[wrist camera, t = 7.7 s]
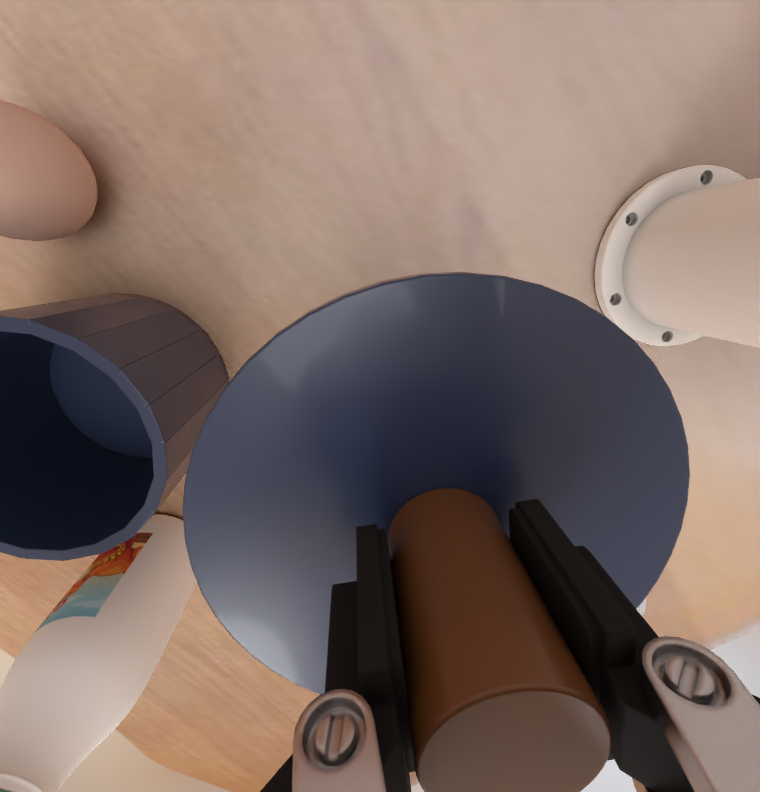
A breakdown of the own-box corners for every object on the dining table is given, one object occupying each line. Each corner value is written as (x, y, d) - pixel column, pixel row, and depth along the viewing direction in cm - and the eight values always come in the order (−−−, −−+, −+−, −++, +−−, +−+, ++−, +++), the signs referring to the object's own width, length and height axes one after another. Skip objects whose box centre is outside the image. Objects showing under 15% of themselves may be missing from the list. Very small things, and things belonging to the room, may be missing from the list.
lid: (570, 158, 10) (966, -21, 3) (708, 569, 14) (989, 818, 8) (90, 436, 11) (-246, 666, 5) (351, 729, 16) (350, 1045, 9)
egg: (113, 129, 26) (-18, 59, 17) (133, 243, 28) (27, 237, 19) (0, 126, 25) (-199, 52, 16) (29, 242, 28) (-131, 235, 18)
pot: (153, 258, 28) (31, 259, 18) (263, 412, 33) (219, 490, 22) (3, 351, 30) (-195, 406, 19) (127, 488, 34) (22, 597, 23)
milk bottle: (203, 510, 35) (31, 804, 16) (213, 581, 38) (73, 909, 19) (110, 511, 35) (-181, 817, 16) (126, 584, 37) (-108, 923, 18)
